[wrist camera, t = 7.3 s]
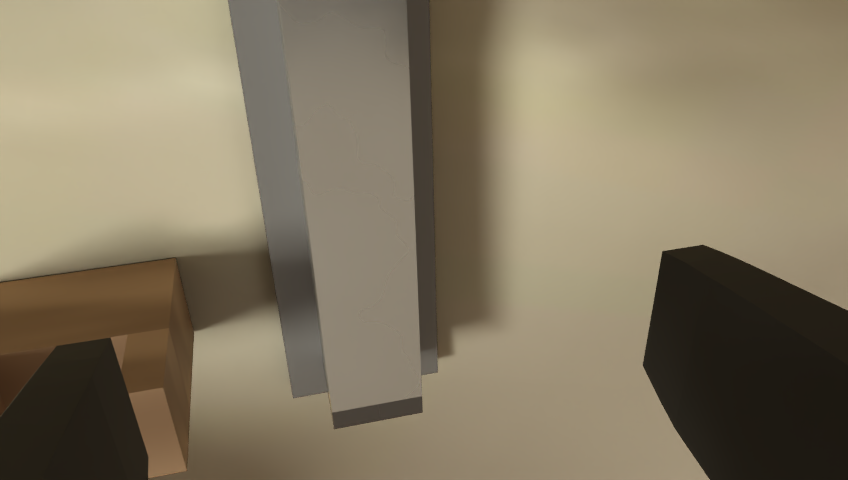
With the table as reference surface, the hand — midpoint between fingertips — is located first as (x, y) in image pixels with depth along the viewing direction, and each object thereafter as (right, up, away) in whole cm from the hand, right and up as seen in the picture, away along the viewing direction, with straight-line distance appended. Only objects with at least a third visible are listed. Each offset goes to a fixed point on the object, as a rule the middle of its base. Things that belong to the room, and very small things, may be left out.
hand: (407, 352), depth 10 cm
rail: (-2, +5, +8) cm, 9 cm away
